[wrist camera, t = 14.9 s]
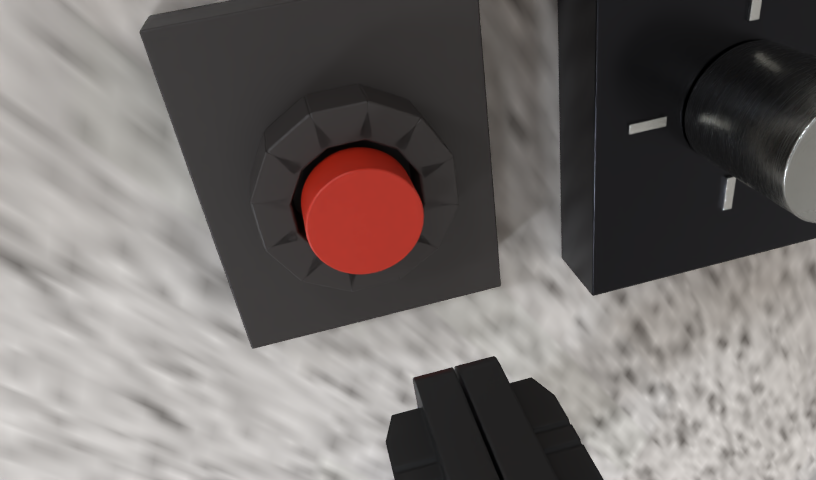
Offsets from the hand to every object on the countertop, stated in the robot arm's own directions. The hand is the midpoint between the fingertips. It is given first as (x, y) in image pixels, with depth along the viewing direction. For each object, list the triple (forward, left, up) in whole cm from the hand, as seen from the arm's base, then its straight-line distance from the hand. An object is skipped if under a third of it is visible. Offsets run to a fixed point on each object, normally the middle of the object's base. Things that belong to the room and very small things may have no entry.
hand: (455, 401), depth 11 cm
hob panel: (+1, +14, -14) cm, 20 cm away
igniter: (+1, 0, -14) cm, 14 cm away
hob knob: (+1, +14, -11) cm, 18 cm away
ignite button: (+1, 0, -10) cm, 10 cm away
